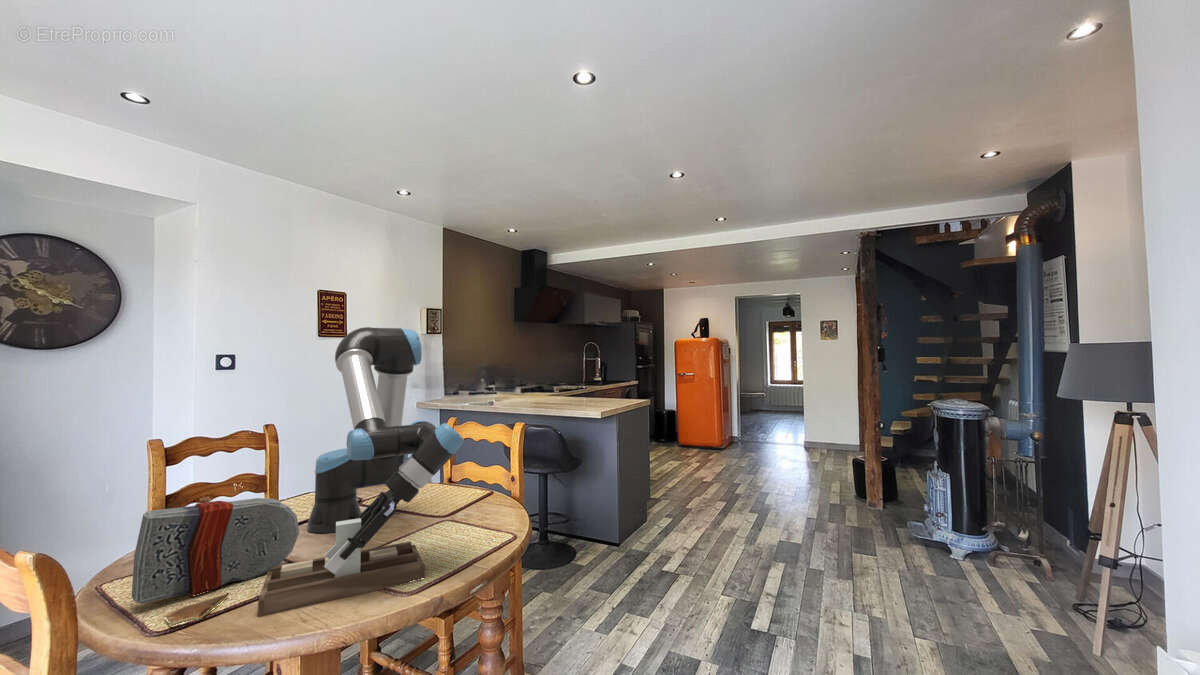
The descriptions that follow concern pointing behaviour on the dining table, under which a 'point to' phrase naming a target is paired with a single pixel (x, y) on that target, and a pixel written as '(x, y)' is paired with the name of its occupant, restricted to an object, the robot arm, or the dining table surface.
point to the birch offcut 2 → (382, 553)
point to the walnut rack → (339, 580)
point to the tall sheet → (342, 534)
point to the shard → (194, 610)
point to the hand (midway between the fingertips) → (329, 564)
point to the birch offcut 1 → (296, 568)
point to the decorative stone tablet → (209, 546)
